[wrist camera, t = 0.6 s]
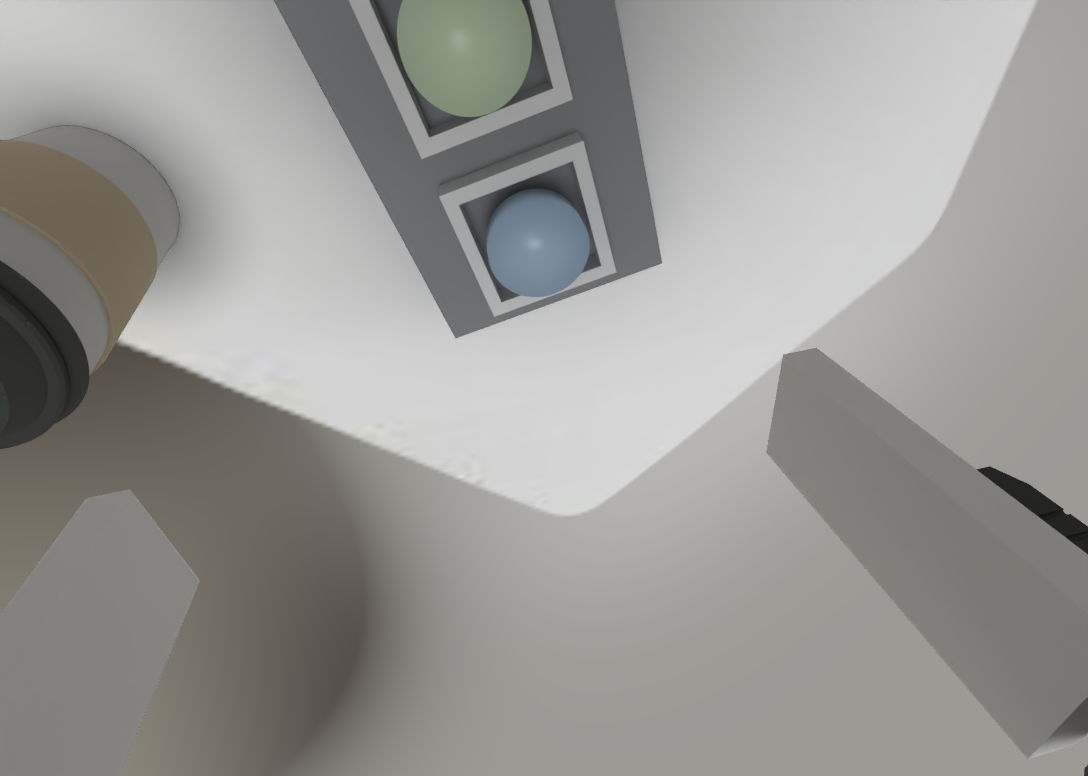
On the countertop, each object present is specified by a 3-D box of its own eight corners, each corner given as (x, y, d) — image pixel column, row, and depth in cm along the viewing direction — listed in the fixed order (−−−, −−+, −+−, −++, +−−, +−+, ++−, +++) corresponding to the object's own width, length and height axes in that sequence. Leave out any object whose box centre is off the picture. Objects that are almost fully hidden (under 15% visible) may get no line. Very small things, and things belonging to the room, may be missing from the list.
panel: (473, -631, 15) (484, -803, 11) (646, 241, 33) (670, 275, 30) (74, -422, 16) (-25, -523, 13) (454, 312, 34) (456, 352, 31)
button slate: (567, 172, 25) (574, 184, 24) (593, 263, 28) (600, 277, 27) (469, 210, 25) (471, 223, 24) (505, 294, 29) (508, 310, 27)
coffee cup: (175, 111, 25) (-44, 248, 14) (223, 283, 30) (97, 482, 19) (-56, 89, 23) (-535, 226, 12) (40, 276, 29) (-220, 492, 17)
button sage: (500, -66, 19) (505, -67, 18) (542, 82, 22) (548, 90, 21) (374, -12, 20) (370, -10, 18) (433, 125, 23) (433, 135, 22)
